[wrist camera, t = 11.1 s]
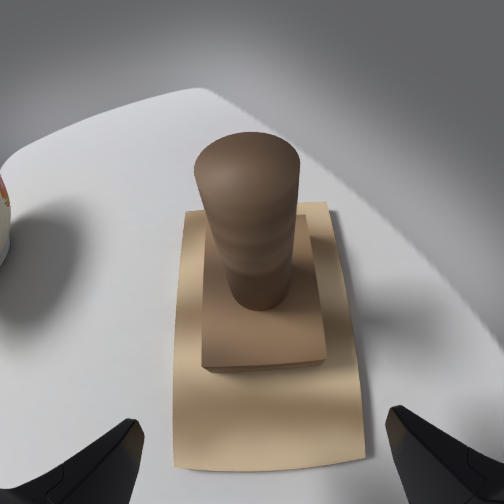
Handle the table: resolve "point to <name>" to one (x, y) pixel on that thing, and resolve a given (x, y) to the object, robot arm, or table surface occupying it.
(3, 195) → the bowl
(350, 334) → the oak board
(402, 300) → the table surface
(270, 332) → the block
